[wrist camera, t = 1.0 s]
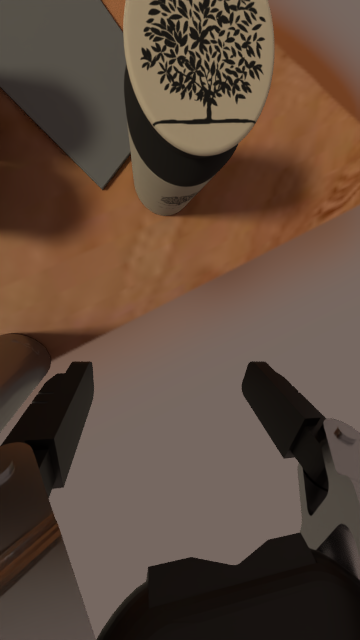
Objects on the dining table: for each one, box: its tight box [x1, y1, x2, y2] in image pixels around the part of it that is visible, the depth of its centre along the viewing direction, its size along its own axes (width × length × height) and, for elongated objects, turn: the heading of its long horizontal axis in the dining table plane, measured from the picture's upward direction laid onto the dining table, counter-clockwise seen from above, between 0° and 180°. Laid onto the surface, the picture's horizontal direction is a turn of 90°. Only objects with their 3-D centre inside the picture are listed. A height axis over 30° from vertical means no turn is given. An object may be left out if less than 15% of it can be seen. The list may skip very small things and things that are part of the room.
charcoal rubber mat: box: [0, 0, 131, 190], centre depth 20 cm, size 13×17×1 cm
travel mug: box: [123, 0, 274, 216], centre depth 17 cm, size 8×8×18 cm
